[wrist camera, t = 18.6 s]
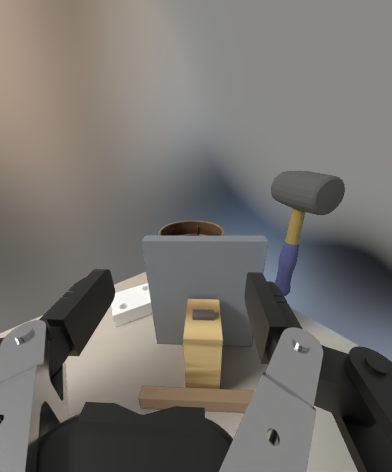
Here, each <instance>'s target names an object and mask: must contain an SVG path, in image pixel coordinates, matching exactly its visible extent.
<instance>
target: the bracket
mask: <svg viewBox="0 0 392 472" xmlns="http://www.w3.org/2000/svg"><path fill="white" fill-rule="evenodd" d="M111 305H112V313H113V318H114V322H115V325H116V327H118V326H120V325H123V324H125V323H128V322H131V321H133V320H136V319H139V318H141V317H144V316H146V315H149V314H152V306H151V300H150V293H149V287H148V283H146V284H143V285H140V286H137V287H133V288H130V289H127V290H124V291H121V292H117V293H115V297H114V300H113V302H112V304H111Z"/></svg>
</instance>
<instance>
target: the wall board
mask: <svg viewBox="0 0 392 472" xmlns="http://www.w3.org/2000/svg"><path fill="white" fill-rule="evenodd" d="M142 247H143V254H144V261H145V267H146V274H147V280H148V287H149V293H150V300H151V306H152V313H153V319H154V326H155V332H156V339H157V344H183V335H184V327H185V319H186V311H187V302H188V299H218V300H219V306H220V316H221V327H222V337H223V344H222V346H252V339H253V331H252V327H251V324H250V320H249V316H248V313H247V309H246V305H245V299H244V294H245V286H246V278H247V273H248V272H262V274H263V272H264V265H265V259H266V253H267V247H268V240H267V239H266V238H265V236H145V237H144V238H143V240H142ZM254 392H255V390H230V389H205V388H180V387H155V386H142V388H141V392H140V395H139V402H140V406H141V408H151V409H167V408H170V407H174V406H181V407H202V408H205V411H217V412H239V413H245V412H246V409H247V407H248V405H249V403H250V401H251V398H252V396H253V394H254Z"/></svg>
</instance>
